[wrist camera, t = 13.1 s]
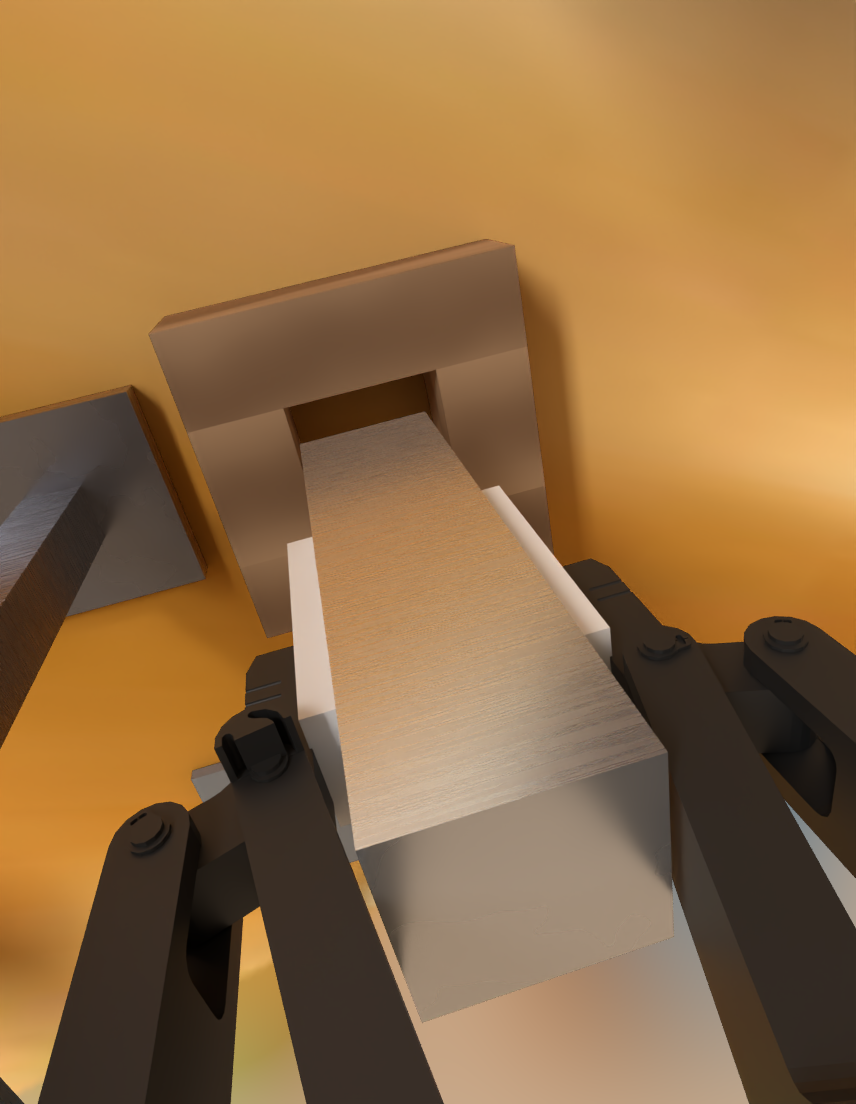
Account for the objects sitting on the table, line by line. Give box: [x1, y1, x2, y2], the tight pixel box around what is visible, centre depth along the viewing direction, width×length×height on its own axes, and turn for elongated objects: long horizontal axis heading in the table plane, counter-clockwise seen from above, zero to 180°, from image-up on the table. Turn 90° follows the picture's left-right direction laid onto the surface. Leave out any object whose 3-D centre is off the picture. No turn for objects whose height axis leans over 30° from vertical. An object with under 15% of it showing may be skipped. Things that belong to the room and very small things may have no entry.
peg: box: [300, 411, 674, 1022], centre depth 16 cm, size 4×4×15 cm
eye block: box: [149, 239, 554, 638], centre depth 26 cm, size 12×12×4 cm
